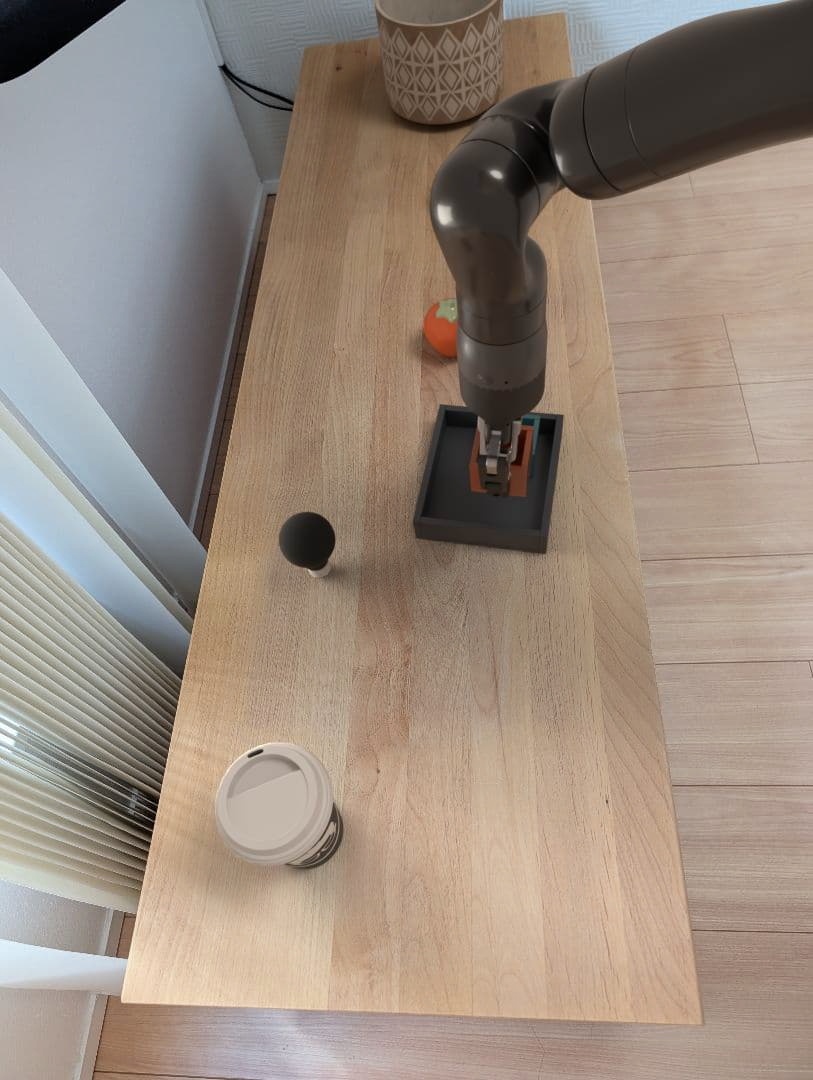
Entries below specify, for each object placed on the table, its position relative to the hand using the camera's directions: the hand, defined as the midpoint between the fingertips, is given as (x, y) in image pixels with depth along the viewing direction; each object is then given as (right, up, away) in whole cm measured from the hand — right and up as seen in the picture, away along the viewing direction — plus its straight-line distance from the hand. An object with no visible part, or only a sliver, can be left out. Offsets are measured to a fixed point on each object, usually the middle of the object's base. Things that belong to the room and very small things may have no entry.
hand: (502, 468), depth 80 cm
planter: (-3, +66, +50) cm, 83 cm away
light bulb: (-19, -11, +7) cm, 23 cm away
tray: (0, -1, +10) cm, 10 cm away
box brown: (0, 0, 0) cm, 1 cm away
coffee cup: (-19, -35, -7) cm, 40 cm away
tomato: (-4, +18, +22) cm, 28 cm away
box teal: (+3, +2, +11) cm, 12 cm away
